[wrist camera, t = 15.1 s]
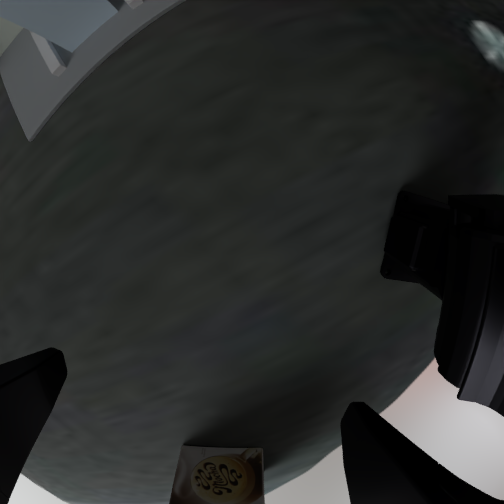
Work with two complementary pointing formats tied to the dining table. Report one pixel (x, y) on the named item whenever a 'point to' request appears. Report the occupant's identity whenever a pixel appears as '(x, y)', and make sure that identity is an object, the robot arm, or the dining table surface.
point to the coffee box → (219, 476)
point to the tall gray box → (59, 18)
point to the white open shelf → (64, 60)
